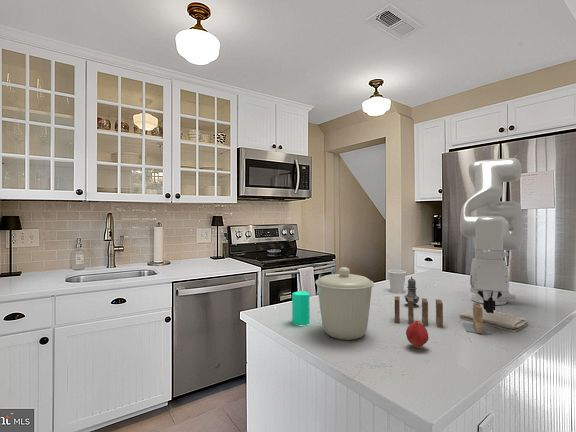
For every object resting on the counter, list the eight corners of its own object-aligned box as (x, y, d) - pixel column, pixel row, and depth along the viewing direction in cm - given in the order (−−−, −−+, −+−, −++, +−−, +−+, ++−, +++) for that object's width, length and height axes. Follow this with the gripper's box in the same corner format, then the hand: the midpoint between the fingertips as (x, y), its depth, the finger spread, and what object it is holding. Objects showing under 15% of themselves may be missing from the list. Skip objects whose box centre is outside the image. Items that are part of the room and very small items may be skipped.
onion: (402, 344, 91) (402, 316, 91) (421, 343, 91) (421, 315, 91) (412, 352, 85) (412, 323, 85) (432, 352, 85) (432, 322, 85)
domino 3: (426, 321, 110) (426, 298, 110) (428, 326, 105) (427, 302, 105) (421, 321, 110) (421, 298, 110) (422, 325, 106) (422, 302, 106)
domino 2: (413, 320, 111) (412, 297, 111) (413, 324, 107) (413, 301, 106) (408, 319, 112) (408, 297, 112) (408, 324, 107) (408, 300, 107)
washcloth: (517, 334, 98) (517, 325, 98) (458, 319, 113) (458, 311, 113) (530, 326, 105) (529, 317, 105) (472, 313, 120) (472, 305, 120)
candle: (297, 327, 105) (297, 291, 105) (289, 322, 110) (289, 287, 110) (312, 324, 108) (312, 289, 108) (304, 319, 113) (303, 286, 113)
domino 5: (478, 327, 102) (478, 303, 102) (482, 333, 97) (482, 307, 97) (473, 327, 103) (473, 303, 103) (476, 332, 98) (476, 307, 98)
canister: (308, 340, 94) (307, 270, 94) (324, 321, 111) (323, 261, 111) (370, 349, 87) (369, 274, 87) (377, 327, 104) (376, 264, 104)
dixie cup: (393, 288, 158) (393, 269, 158) (409, 291, 152) (409, 271, 152) (384, 291, 152) (384, 271, 152) (400, 294, 146) (400, 273, 146)
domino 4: (441, 322, 108) (440, 299, 108) (443, 327, 103) (442, 303, 103) (436, 322, 109) (435, 299, 109) (437, 327, 104) (437, 303, 104)
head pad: (485, 325, 105) (485, 324, 105) (492, 334, 97) (492, 333, 97) (462, 323, 107) (462, 322, 107) (466, 331, 100) (466, 330, 100)
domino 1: (399, 318, 113) (399, 296, 113) (399, 323, 108) (399, 300, 108) (394, 318, 113) (394, 296, 113) (394, 322, 109) (394, 299, 109)
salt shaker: (421, 308, 125) (420, 278, 125) (405, 307, 126) (405, 277, 126) (418, 304, 131) (417, 275, 131) (403, 303, 132) (403, 275, 132)
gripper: (512, 254, 102) (512, 310, 102) (460, 253, 107) (461, 306, 107) (520, 257, 95) (521, 318, 95) (465, 255, 100) (465, 313, 100)
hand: (489, 311), depth 101 cm, fingers closed
